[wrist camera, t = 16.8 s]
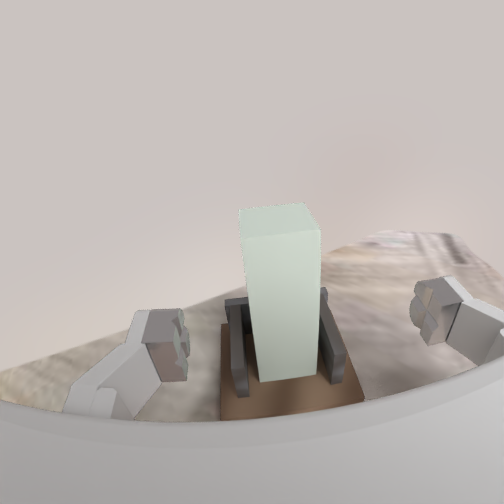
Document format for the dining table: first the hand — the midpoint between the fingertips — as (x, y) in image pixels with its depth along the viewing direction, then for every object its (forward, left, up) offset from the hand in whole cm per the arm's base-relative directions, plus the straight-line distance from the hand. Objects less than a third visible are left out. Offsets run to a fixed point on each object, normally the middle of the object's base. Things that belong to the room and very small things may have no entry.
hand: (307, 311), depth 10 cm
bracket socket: (0, +12, -17) cm, 20 cm away
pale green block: (0, +12, -16) cm, 20 cm away
